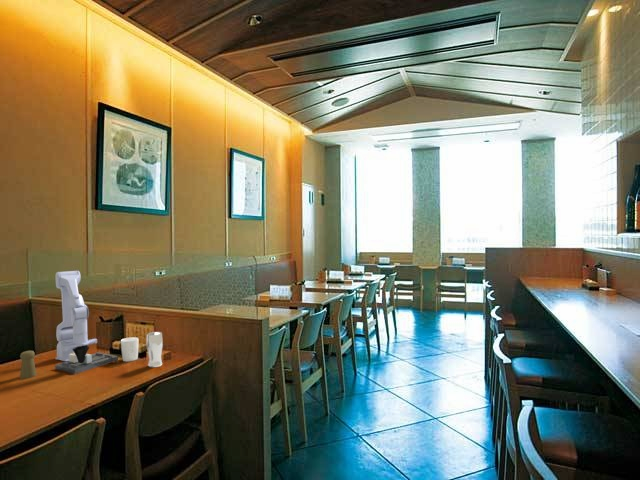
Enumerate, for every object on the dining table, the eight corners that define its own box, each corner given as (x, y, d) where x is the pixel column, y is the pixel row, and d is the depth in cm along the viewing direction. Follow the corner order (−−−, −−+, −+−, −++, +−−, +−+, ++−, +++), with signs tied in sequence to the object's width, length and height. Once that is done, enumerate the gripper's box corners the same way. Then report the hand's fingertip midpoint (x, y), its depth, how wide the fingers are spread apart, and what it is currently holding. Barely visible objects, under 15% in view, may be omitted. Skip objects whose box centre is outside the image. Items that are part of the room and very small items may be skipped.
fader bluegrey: (81, 362, 186) (81, 354, 186) (86, 361, 188) (86, 353, 188) (86, 363, 184) (86, 355, 184) (92, 362, 187) (91, 354, 186)
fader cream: (69, 361, 188) (68, 353, 188) (74, 360, 190) (74, 352, 190) (74, 362, 186) (73, 354, 186) (79, 361, 188) (79, 353, 188)
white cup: (134, 361, 193) (133, 341, 193) (118, 362, 193) (117, 341, 193) (141, 356, 201) (141, 337, 201) (126, 357, 201) (125, 337, 201)
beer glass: (166, 363, 190) (165, 331, 190) (158, 368, 183) (157, 335, 183) (152, 362, 191) (151, 331, 191) (144, 367, 184) (143, 335, 184)
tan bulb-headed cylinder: (27, 379, 172) (26, 353, 172) (16, 378, 174) (15, 353, 173) (40, 374, 178) (39, 349, 178) (28, 373, 179) (27, 349, 179)
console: (55, 369, 184) (55, 363, 184) (98, 356, 203) (98, 350, 203) (74, 374, 177) (74, 367, 177) (117, 360, 196) (117, 354, 196)
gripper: (69, 337, 175) (70, 368, 176) (100, 330, 188) (101, 359, 189) (59, 336, 179) (60, 366, 179) (91, 329, 192) (92, 357, 192)
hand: (81, 362), depth 184 cm, fingers closed
